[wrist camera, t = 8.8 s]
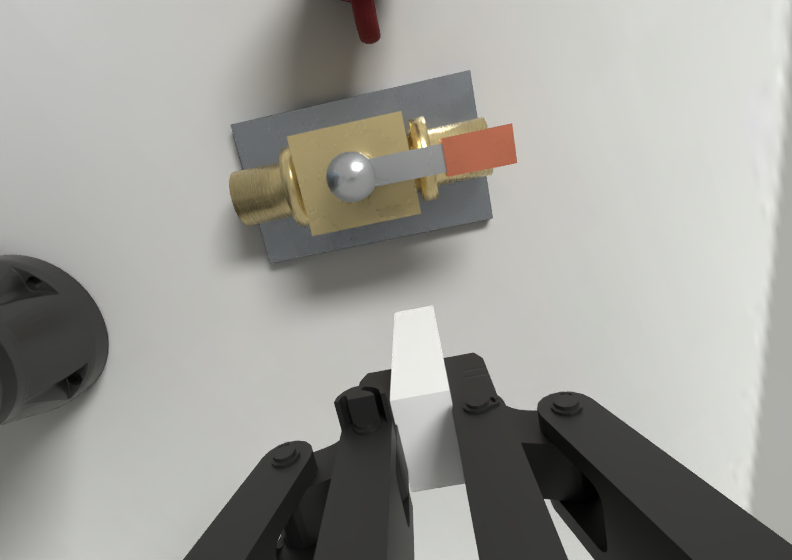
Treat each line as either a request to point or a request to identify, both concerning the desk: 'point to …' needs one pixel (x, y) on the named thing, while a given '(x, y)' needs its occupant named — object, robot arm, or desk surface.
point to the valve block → (366, 133)
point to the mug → (366, 20)
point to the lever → (421, 162)
